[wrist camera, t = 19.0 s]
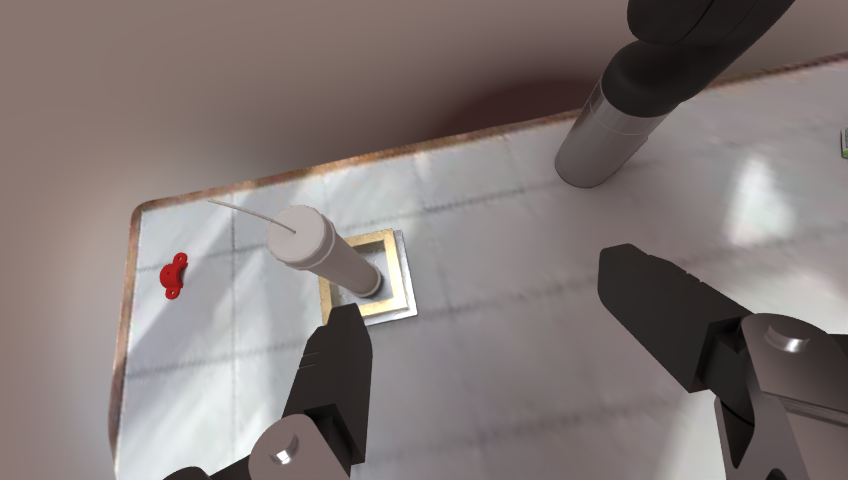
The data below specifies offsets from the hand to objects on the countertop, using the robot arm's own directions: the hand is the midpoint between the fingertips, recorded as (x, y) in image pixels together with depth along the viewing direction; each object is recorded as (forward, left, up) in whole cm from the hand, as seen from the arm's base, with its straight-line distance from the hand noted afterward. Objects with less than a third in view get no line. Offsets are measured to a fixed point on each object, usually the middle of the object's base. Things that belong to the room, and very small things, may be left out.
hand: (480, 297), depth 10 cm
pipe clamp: (+44, -19, -39) cm, 62 cm away
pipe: (+12, -10, -38) cm, 41 cm away
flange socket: (+12, -11, -39) cm, 42 cm away
